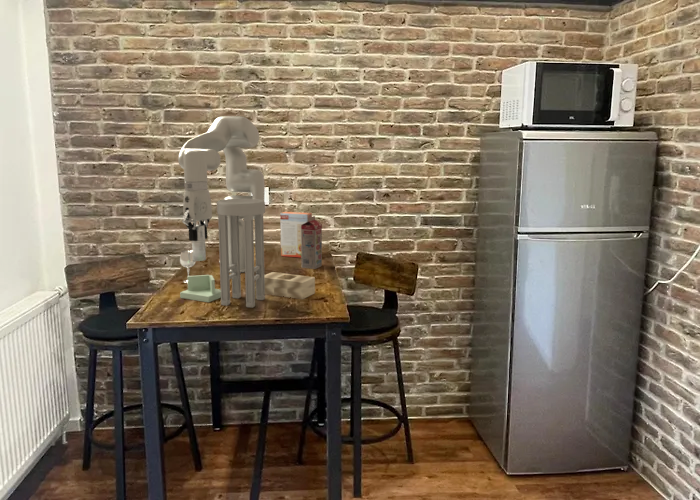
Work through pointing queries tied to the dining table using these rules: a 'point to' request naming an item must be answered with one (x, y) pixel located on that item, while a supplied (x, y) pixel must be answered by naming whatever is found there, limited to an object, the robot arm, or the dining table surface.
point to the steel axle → (199, 244)
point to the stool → (234, 211)
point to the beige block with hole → (289, 285)
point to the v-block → (201, 289)
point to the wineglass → (187, 260)
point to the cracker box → (292, 232)
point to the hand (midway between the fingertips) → (198, 239)
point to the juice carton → (311, 244)
